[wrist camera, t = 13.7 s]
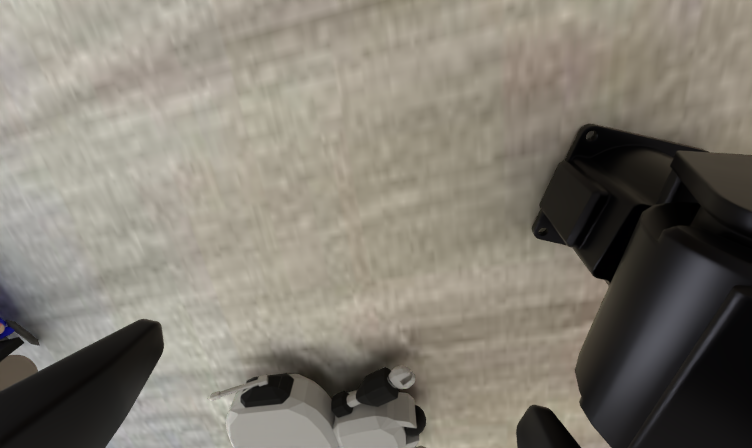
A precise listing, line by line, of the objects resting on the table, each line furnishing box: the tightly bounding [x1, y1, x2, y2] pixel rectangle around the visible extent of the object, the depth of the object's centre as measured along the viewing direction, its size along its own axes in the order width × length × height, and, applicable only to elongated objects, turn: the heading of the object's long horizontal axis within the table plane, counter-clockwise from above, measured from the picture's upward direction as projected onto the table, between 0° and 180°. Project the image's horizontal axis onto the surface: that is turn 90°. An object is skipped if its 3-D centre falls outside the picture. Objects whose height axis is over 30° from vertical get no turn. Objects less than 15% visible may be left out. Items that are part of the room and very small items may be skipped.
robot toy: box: [207, 365, 426, 448], centre depth 28 cm, size 12×4×15 cm
